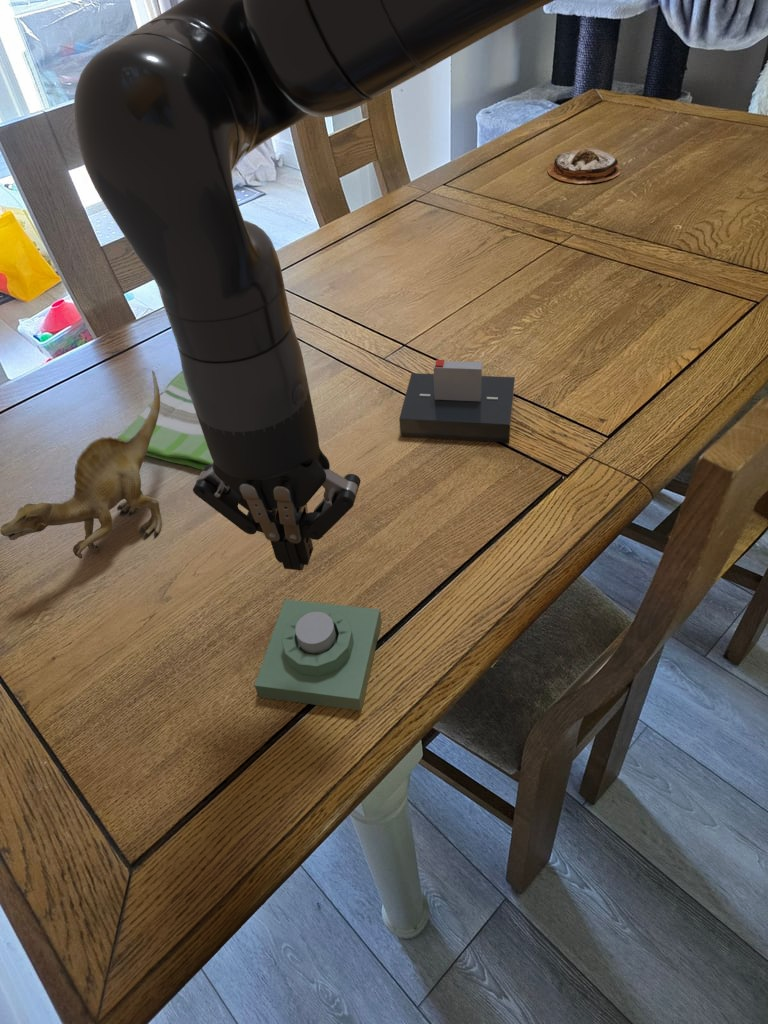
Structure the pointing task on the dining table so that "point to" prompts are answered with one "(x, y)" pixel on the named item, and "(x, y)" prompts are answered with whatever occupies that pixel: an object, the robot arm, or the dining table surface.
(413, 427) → the lever base
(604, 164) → the powdered cake
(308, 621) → the button
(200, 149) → the robot arm
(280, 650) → the button block
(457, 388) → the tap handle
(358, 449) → the dining table surface
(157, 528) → the dinosaur figurine
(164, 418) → the dish towel
